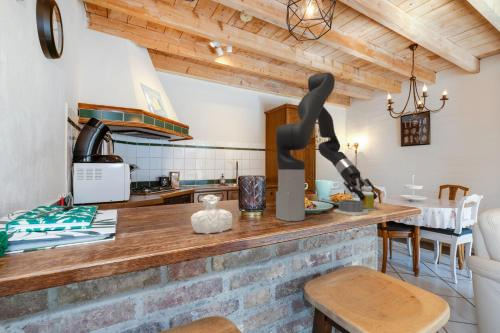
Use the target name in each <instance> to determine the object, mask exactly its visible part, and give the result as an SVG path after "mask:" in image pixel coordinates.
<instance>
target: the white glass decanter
mask: <svg viewBox="0 0 500 333" xmlns="http://www.w3.org/2000/svg"><path fill="white" fill-rule="evenodd" d="M221 197H222V196H215V195H214V194H207V195H205V196H204V197H200V201H202V203H203V204H202V206H203V207H204V206H205V208H204V210H199V211H197V212H195V213H193V214H192V215H191V217H190V218H189V219H190V223H191V225H192V228H193V231H194V232H195V233H197V234H206V235H209V234H214V233H223V232H224V231H228V230H230V229H231V227H232V225H233V214H232V212H230V211H229V210H226V209H222V208H217V205H218V204H219V202H220V201H221Z"/></svg>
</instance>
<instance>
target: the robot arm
mask: <svg viewBox="0 0 500 333" xmlns="http://www.w3.org/2000/svg"><path fill="white" fill-rule="evenodd" d="M335 84H336V83H335V76H334V75H333V73H331V72H327V71H326V72H322V73H318V74H314V75H311V76H309V77H308V80H307V88H308V92H307V93H306V94H305V95H303V97H302V98H301V100H300V101H299V103H298V105H297V114H298V115H297V116H298V117H299V119H300V121H299V122H297V123H296V122H295V123H287V124H281V125H280V126H278V127H277V129H276V133H275V142H276V145H275V146H276V162H277V165H278V168H277V170H278V174H277V176H278V179H277V181H278V182H277V184H278V188H277V191H276V192H275V218H276V219H277V220H280V221H281V220H282V221H284V222H300V221H304V220H306V195H305V194H306V181H305V178H306V164H305V161H303V160H301V159H298V158H296V157H294V156H293V155H292V153H291V152H292V151H300V150H301V151H302V150H305V149H306V148H307V147H308V145H309V143H310V142H311V138H312V134H313V131H314V130H315V129H314V128H315V125H316V123H317V124H318V130H319V131H318V132H319V136H320V137H321V138H326V139H328V138H329V140H326V141H323V142H321V143H319V144H318V152H319V153H320V155H321V156H322V157H324V158H325V159H326V160H328V161H329V162H330V163H331V164H332V165H333V166H334V168H335V169H336V171H337V173H338V174H339V175H340V176H341V178H342V179H343V181H344V182H343V185H344V186H345V187H346V189H348V191H349V192H350V193H352V194H353V193H354V194H355V195H357V197H358V198H359V200H360V199H361V200H364V199H365V198H366V197H365V195H364V194H363V193H362V190H361V187H372V191H371V192H373V193H374V200H377V198H378V195H377V193H375V191H374V190H375V187H376V186H374V185H373V183H372V182H371V181H370V179H369V178H365V179H364V178H363V177H362V176H361V171H360V170H359V169H358V168H357V167H356V166H355V164H354V163H353V162H352V161H351V160H350V159H349V158H348V157H347V156H346V155H345V153H344V152H342V151H340V149H341V144H340V141H339V140H338V136H337V134H336V132H335V127H334V120H333V117H332V114H331V113H330V112H329V111H328V110H327V109H326V107H325V106H324V105H325V104H326V101H327V100H328V98H329V97H330V95H331V94H332V92H333V90H334V89H335Z"/></svg>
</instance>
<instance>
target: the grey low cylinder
mask: <svg viewBox="0 0 500 333" xmlns="http://www.w3.org/2000/svg"><path fill="white" fill-rule="evenodd" d="M333 213H334V214H335V213H336V214H340V215H346V216H353V217H357V216H362V215H363V216H364V215H367V214H369V211H366V210H363V202H362V201H360V200H354V199H339V200H338V208H336V209H333Z"/></svg>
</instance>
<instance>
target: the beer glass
mask: <svg viewBox="0 0 500 333" xmlns="http://www.w3.org/2000/svg"><path fill="white" fill-rule="evenodd" d="M360 191H362V193H363V194H364V195H365V197H366V198H365V199H364V200H361V199H360V198H359V201H362V202H363V210H366V211H368V212H369V211H370V212H371V211H374V209H375V208H374V207H375V204H374V202H375V199H374V193H373V192H371V191H372V187H371V186H370V187H365V186H363V187H361V188H360Z"/></svg>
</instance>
